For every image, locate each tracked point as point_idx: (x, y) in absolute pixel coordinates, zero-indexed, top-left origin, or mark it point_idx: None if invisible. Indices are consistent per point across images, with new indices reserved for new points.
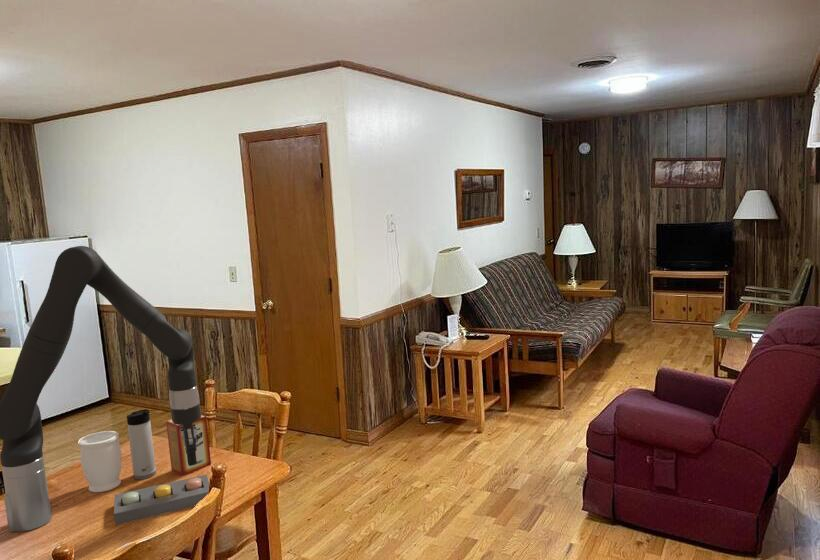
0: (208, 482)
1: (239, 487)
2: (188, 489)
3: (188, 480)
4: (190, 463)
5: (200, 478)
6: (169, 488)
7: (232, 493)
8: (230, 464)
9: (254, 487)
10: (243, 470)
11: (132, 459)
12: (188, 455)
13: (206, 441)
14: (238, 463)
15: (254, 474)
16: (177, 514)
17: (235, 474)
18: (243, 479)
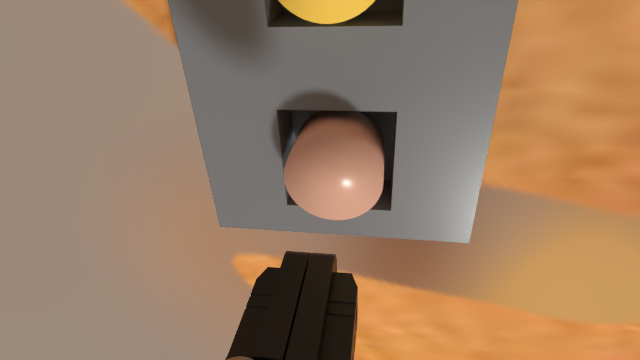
0: (342, 232)
1: None
2: (307, 127)
3: (365, 155)
4: (263, 277)
5: (430, 208)
6: (296, 14)
7: None
8: (635, 323)
9: None
10: (504, 341)
11: None
12: (260, 338)
13: None
14: (610, 347)
15: (427, 356)
16: (157, 20)
17: (485, 312)
18: (405, 321)
